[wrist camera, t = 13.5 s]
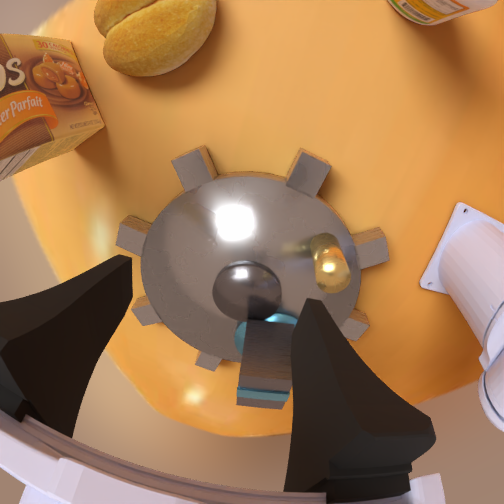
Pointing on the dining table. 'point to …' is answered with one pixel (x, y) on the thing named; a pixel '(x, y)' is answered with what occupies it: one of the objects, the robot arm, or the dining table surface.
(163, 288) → the sprocket disc
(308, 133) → the dining table surface
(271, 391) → the marked link block
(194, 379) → the dining table surface
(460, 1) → the supplement bottle
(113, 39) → the bread roll
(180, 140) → the dining table surface
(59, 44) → the candy box
